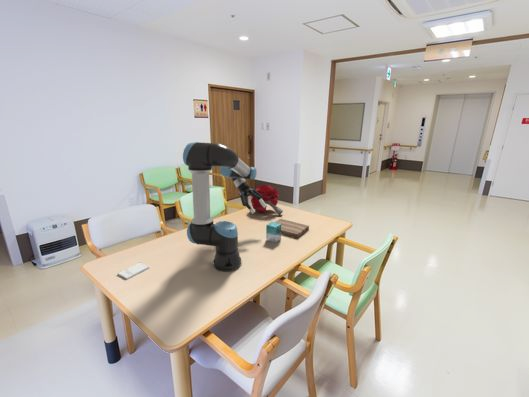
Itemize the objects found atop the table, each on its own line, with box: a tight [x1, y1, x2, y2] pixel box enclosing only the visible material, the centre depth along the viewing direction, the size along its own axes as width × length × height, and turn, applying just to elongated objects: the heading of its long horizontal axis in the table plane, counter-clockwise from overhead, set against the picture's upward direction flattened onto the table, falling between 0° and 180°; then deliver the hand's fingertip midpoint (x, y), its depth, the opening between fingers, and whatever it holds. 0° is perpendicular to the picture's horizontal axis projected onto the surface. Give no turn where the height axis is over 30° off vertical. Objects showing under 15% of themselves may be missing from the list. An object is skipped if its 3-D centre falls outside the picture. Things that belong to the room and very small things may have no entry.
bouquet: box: [250, 184, 284, 216], centre depth 221 cm, size 22×24×30 cm
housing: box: [265, 221, 282, 244], centre depth 172 cm, size 7×7×11 cm
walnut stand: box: [274, 218, 310, 239], centre depth 189 cm, size 18×24×3 cm
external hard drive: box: [117, 262, 150, 281], centre depth 136 cm, size 2×8×12 cm
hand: (259, 209), depth 175 cm, fingers open, 13 cm apart
